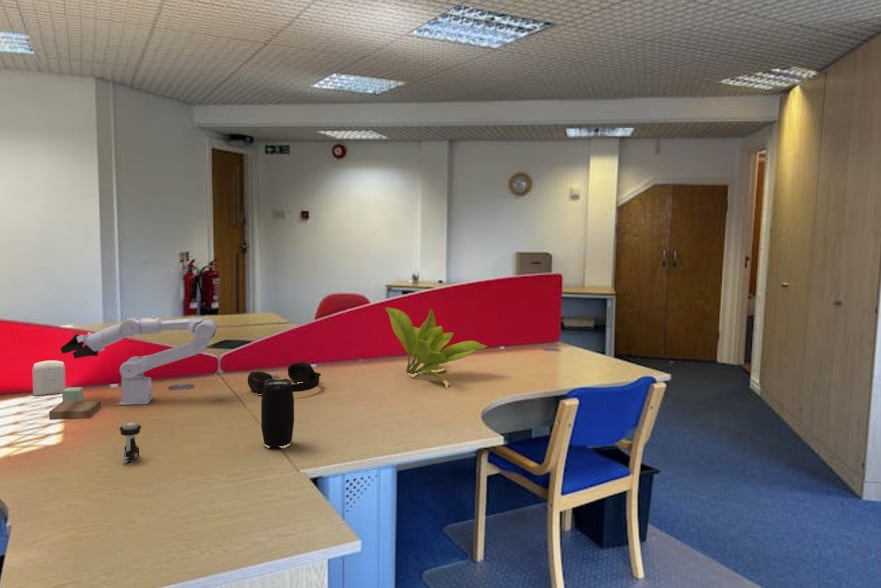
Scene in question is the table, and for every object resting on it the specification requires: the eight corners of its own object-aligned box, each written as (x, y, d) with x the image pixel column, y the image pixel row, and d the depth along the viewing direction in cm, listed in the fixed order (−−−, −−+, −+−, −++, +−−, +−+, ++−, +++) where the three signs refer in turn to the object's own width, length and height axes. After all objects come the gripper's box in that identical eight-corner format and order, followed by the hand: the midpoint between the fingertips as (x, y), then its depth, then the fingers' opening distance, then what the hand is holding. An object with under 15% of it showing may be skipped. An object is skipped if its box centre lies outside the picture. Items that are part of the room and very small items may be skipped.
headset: (269, 378, 271) (269, 358, 270) (330, 382, 267) (330, 361, 266) (238, 396, 244) (238, 373, 243) (305, 401, 240) (305, 378, 239)
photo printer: (65, 390, 243) (64, 358, 242) (66, 393, 240) (65, 360, 238) (33, 394, 238) (31, 360, 236) (33, 396, 234) (31, 363, 233)
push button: (134, 464, 175) (133, 428, 174) (114, 464, 175) (113, 428, 173) (145, 455, 181) (144, 421, 180) (125, 455, 181) (124, 420, 180)
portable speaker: (256, 444, 193) (256, 380, 191) (285, 438, 199) (286, 375, 197) (269, 452, 186) (269, 386, 184) (298, 446, 192) (299, 381, 190)
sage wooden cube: (83, 400, 231) (82, 387, 231) (78, 404, 227) (78, 390, 226) (67, 401, 230) (67, 387, 230) (62, 405, 226) (62, 391, 225)
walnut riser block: (101, 409, 224) (100, 400, 224) (89, 419, 212) (89, 410, 212) (62, 410, 222) (62, 401, 221) (49, 420, 210) (49, 411, 210)
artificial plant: (418, 409, 255) (464, 351, 249) (349, 338, 271) (390, 282, 266) (460, 404, 293) (501, 353, 287) (397, 342, 309) (435, 293, 304)
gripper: (112, 332, 235) (76, 348, 234) (92, 321, 222) (53, 337, 220) (118, 349, 233) (81, 365, 232) (97, 339, 220) (58, 356, 218)
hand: (67, 353), depth 226 cm, fingers open, 7 cm apart
